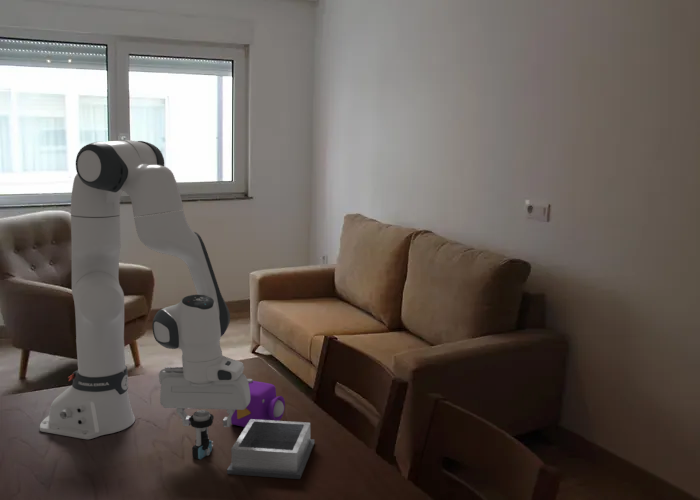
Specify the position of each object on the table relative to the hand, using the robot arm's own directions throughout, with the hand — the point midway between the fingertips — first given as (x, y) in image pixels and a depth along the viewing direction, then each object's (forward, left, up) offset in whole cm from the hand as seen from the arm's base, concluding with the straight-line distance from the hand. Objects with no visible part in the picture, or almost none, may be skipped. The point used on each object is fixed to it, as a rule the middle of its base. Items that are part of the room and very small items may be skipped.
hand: (207, 425), depth 158 cm
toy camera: (+7, +18, -7) cm, 21 cm away
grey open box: (+15, 0, -7) cm, 17 cm away
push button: (-1, 0, -7) cm, 7 cm away
